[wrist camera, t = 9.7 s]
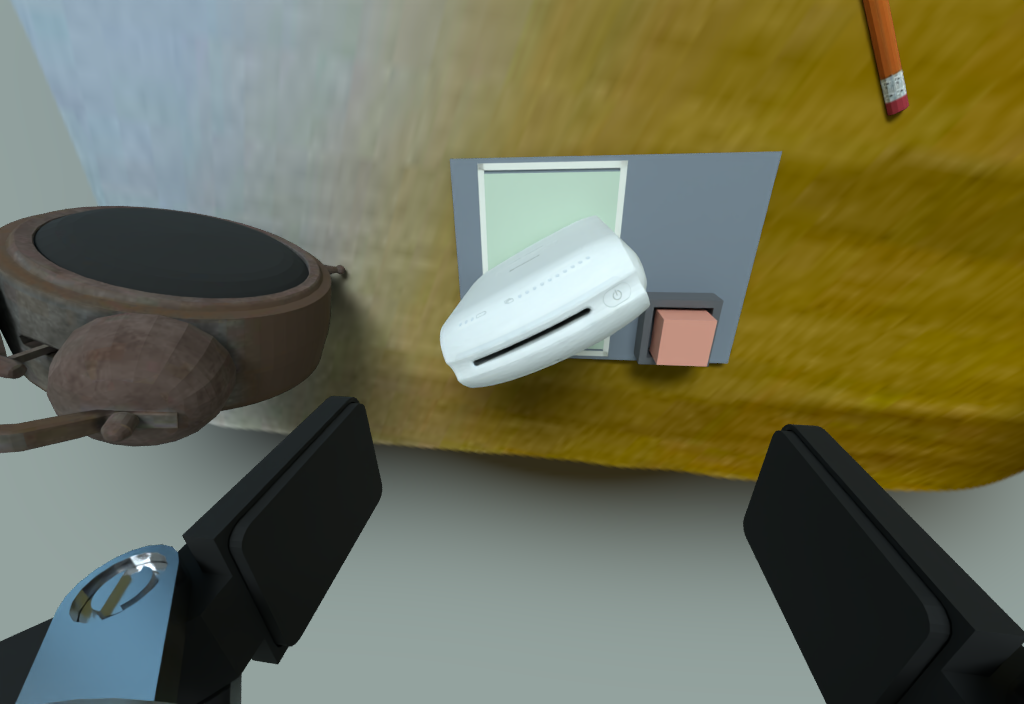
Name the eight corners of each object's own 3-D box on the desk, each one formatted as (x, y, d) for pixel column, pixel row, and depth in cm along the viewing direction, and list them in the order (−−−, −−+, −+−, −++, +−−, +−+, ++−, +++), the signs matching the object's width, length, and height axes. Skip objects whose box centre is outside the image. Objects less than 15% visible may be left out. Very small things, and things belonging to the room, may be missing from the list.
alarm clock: (382, 255, 28) (74, 402, 10) (365, 337, 31) (107, 559, 13) (190, 180, 27) (-510, 196, 9) (193, 272, 31) (-327, 416, 13)
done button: (705, 309, 25) (717, 320, 24) (695, 352, 27) (706, 366, 25) (655, 308, 26) (664, 319, 24) (649, 350, 27) (656, 364, 25)
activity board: (776, 151, 23) (799, 150, 21) (724, 359, 29) (737, 374, 27) (452, 159, 25) (442, 158, 23) (466, 351, 31) (459, 365, 29)
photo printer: (600, 202, 24) (636, 228, 13) (626, 261, 26) (679, 329, 15) (468, 276, 27) (407, 348, 16) (498, 325, 29) (461, 422, 18)
